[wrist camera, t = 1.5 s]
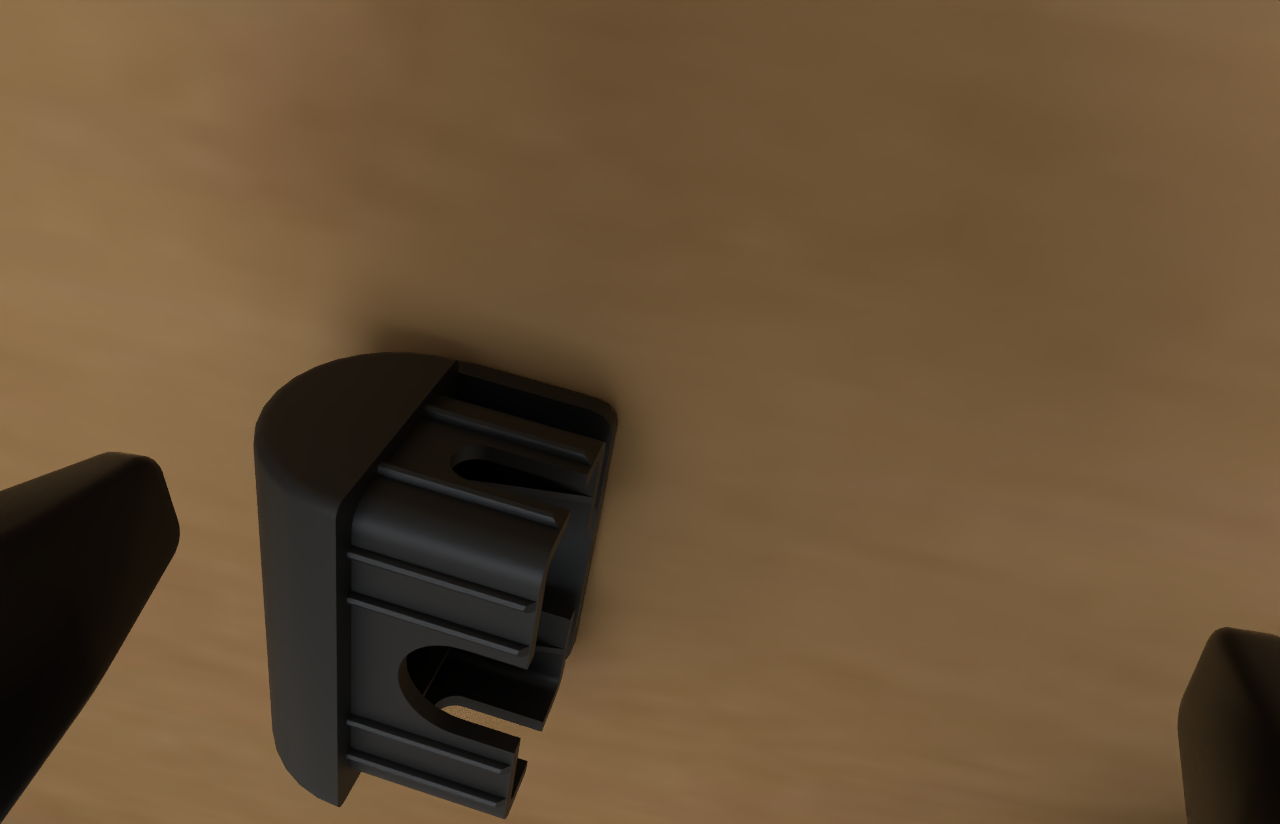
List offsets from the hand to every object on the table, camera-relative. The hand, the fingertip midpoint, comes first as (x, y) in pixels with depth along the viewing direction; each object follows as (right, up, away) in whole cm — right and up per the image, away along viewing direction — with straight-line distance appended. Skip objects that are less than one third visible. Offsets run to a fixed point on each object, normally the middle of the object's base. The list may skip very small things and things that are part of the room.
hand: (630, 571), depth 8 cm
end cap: (-4, -1, +19) cm, 19 cm away
